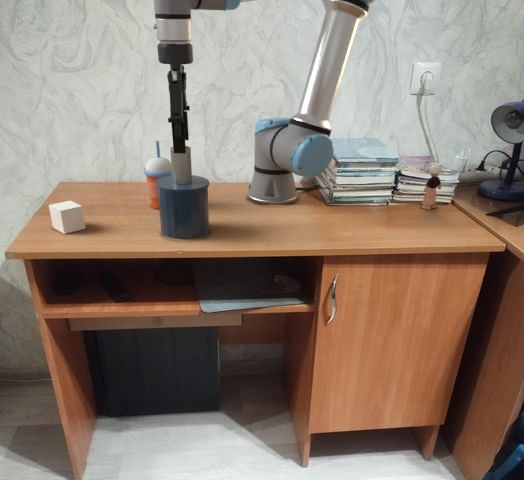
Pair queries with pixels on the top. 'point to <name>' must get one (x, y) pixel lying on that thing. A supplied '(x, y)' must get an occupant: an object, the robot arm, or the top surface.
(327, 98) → the robot arm
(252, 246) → the top surface
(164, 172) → the cup with straw
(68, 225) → the white cube
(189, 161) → the tin lid
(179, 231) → the tin
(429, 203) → the grandmother figurine
